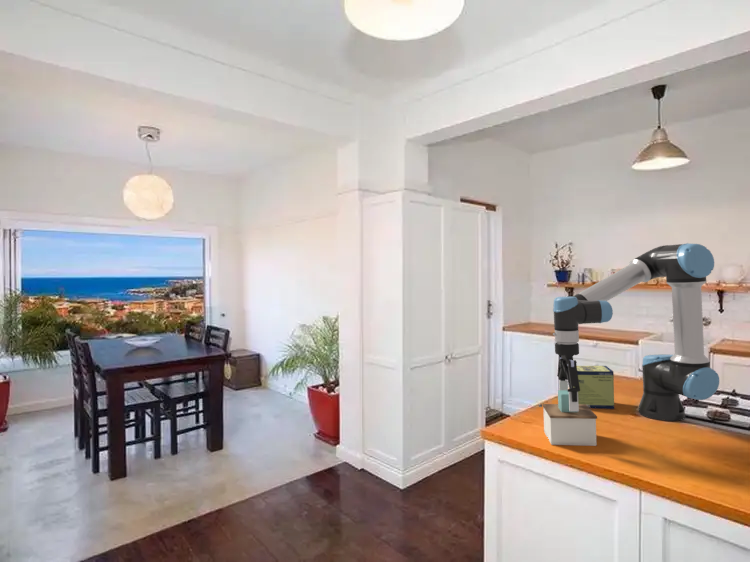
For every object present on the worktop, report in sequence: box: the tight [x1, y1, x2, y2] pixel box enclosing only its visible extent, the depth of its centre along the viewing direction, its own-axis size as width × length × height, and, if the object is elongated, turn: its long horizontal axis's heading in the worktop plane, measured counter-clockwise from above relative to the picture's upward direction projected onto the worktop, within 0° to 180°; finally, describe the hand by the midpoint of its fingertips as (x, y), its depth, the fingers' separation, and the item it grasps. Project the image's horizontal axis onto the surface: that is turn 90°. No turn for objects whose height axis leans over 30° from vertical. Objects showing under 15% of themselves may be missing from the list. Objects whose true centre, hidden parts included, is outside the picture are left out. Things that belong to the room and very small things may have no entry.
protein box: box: [577, 365, 615, 410], centre depth 191 cm, size 10×16×16 cm
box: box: [538, 403, 597, 447], centre depth 156 cm, size 17×12×10 cm
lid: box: [542, 403, 598, 420], centre depth 155 cm, size 14×13×1 cm
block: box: [557, 389, 578, 412], centre depth 155 cm, size 5×5×6 cm
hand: (568, 404), depth 155 cm, fingers open, 13 cm apart
